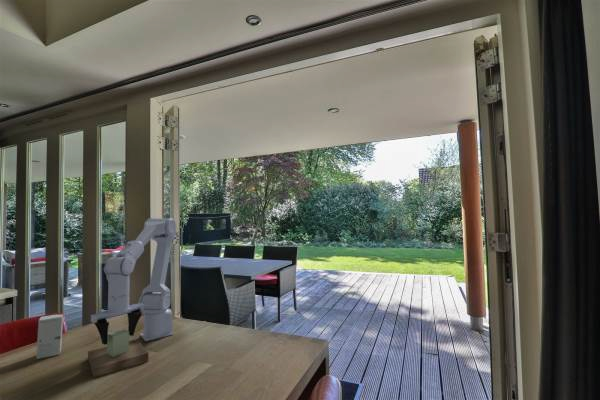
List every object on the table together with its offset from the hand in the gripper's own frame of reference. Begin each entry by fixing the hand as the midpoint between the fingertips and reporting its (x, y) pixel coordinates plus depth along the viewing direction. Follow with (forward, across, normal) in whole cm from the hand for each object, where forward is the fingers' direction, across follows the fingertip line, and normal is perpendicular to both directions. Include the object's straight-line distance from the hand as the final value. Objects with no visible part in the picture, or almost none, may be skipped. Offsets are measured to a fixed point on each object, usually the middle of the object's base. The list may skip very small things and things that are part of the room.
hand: (118, 339), depth 93 cm
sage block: (+4, 0, 0) cm, 4 cm away
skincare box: (+7, +11, -23) cm, 26 cm away
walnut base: (+6, 0, 0) cm, 6 cm away
